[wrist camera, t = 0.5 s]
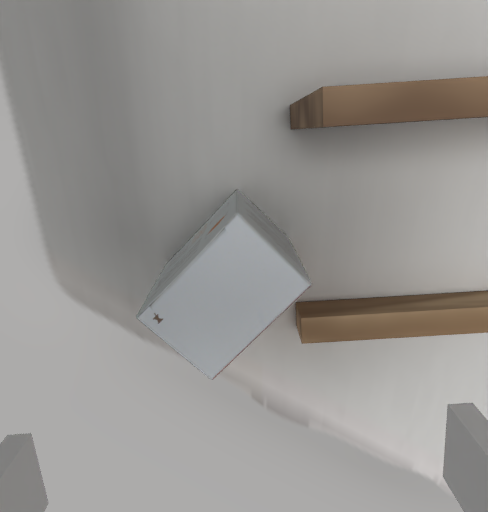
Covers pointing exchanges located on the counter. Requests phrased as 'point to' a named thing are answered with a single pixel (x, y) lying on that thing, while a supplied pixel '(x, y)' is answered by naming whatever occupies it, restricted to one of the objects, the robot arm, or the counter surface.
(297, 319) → the board
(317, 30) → the counter surface
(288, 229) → the counter surface
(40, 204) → the counter surface
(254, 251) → the small box
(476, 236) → the counter surface
